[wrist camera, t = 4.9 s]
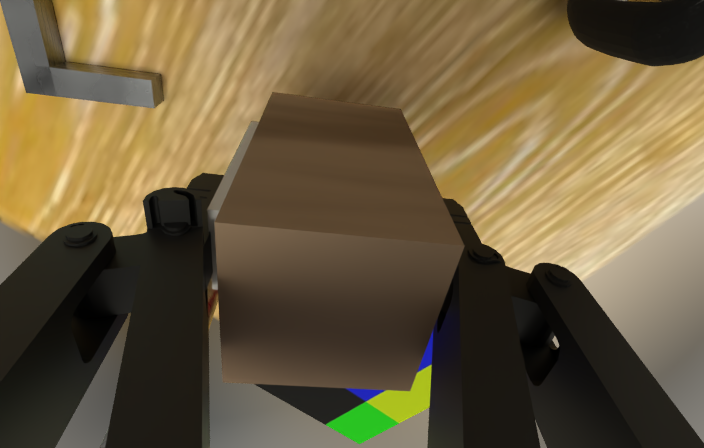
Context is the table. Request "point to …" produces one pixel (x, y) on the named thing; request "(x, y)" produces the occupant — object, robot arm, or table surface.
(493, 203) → the table surface
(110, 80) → the gray corner bracket
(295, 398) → the puzzle toy
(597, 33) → the mug
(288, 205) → the walnut block
